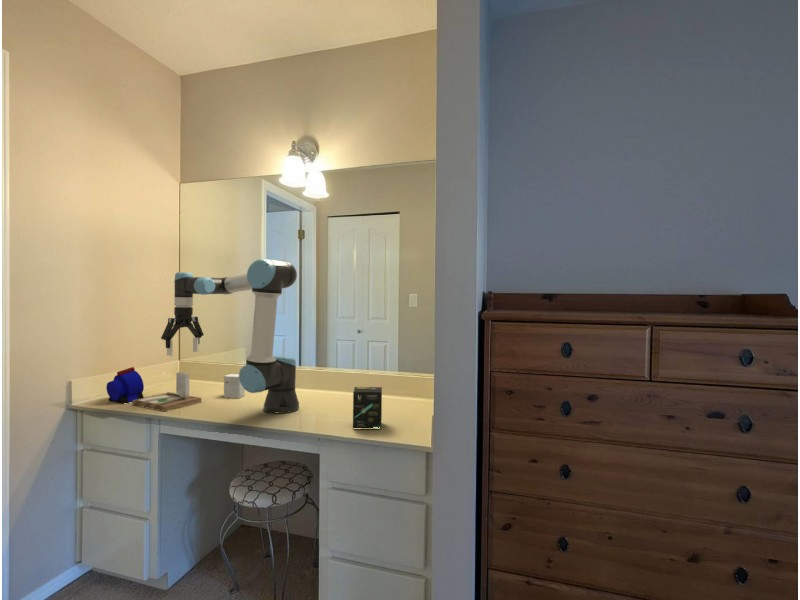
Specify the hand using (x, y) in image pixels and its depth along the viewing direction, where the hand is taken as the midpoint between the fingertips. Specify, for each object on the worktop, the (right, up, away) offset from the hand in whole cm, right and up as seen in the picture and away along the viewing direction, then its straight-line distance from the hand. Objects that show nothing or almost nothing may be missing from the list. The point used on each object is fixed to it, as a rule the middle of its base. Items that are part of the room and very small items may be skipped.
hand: (183, 353), depth 205 cm
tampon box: (+85, -25, -28) cm, 93 cm away
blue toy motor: (-28, -22, +3) cm, 36 cm away
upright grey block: (-4, -20, +2) cm, 20 cm away
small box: (+18, -23, +14) cm, 32 cm away
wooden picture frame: (-7, -22, -1) cm, 23 cm away
